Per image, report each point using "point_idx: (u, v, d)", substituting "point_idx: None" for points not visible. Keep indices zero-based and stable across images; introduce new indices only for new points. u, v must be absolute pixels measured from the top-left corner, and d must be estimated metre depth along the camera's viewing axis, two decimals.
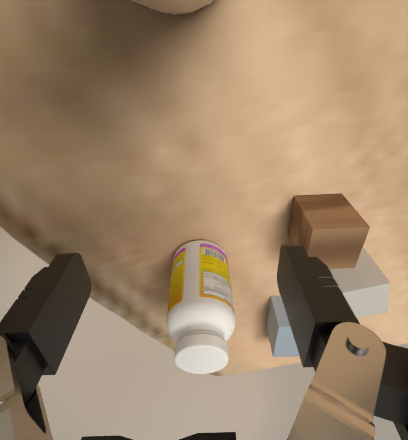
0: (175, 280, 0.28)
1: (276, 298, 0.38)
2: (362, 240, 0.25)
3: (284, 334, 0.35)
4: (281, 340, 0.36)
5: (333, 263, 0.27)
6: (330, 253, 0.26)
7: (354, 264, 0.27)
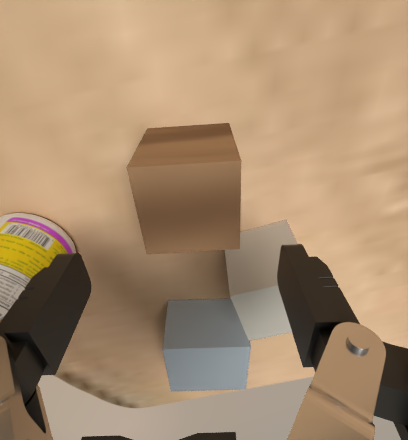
0: None
1: (175, 304, 0.26)
2: (235, 191, 0.13)
3: (175, 360, 0.23)
4: (174, 369, 0.24)
5: (197, 240, 0.14)
6: (182, 220, 0.14)
7: (236, 242, 0.15)
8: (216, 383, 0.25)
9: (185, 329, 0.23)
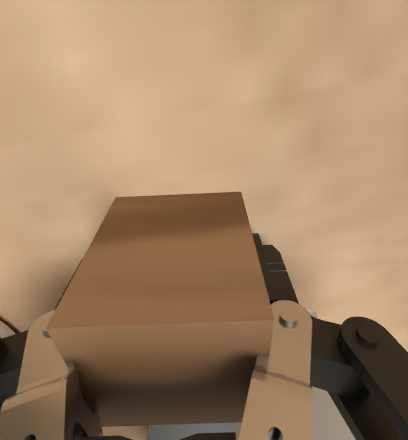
0: None
1: None
2: None
3: None
4: None
5: (187, 413, 0.08)
6: (161, 391, 0.08)
7: None
8: None
9: None
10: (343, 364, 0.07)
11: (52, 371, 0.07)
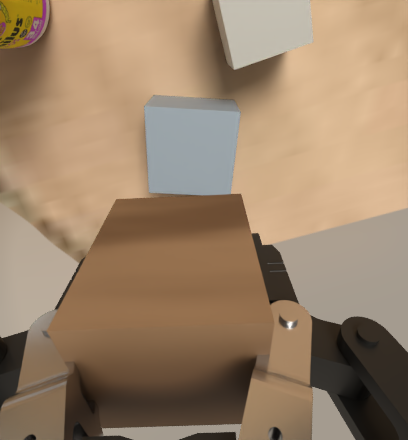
0: None
1: (161, 96, 0.24)
2: None
3: (157, 130, 0.21)
4: (155, 147, 0.22)
5: (187, 414, 0.08)
6: (161, 393, 0.08)
7: None
8: (199, 182, 0.23)
9: (170, 103, 0.21)
10: (343, 364, 0.07)
11: (52, 371, 0.07)
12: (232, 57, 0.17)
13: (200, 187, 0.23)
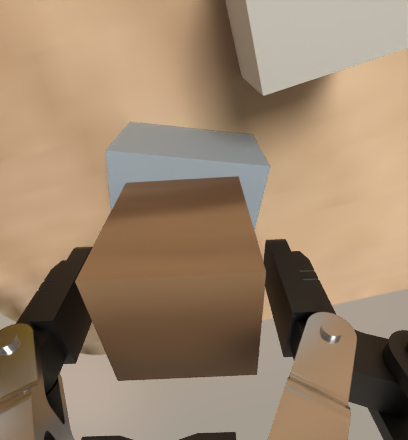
0: None
1: (140, 125, 0.15)
2: (254, 310, 0.08)
3: None
4: None
5: (193, 365, 0.10)
6: (170, 344, 0.09)
7: (253, 367, 0.10)
8: None
9: (154, 142, 0.13)
10: (392, 382, 0.07)
11: (14, 386, 0.06)
12: (260, 72, 0.09)
13: None
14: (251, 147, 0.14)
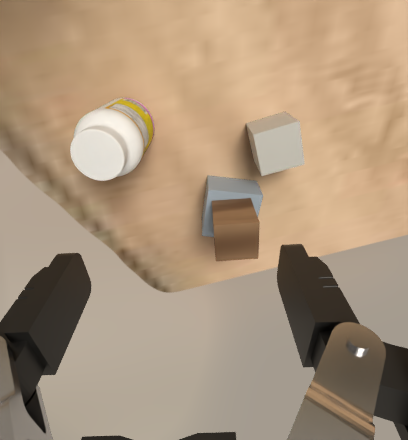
0: None
1: (212, 177, 0.38)
2: (256, 234, 0.31)
3: None
4: (210, 211, 0.36)
5: (239, 254, 0.32)
6: (233, 245, 0.32)
7: (256, 255, 0.32)
8: None
9: (221, 185, 0.36)
10: None
11: None
12: (261, 170, 0.32)
13: None
14: (256, 187, 0.37)
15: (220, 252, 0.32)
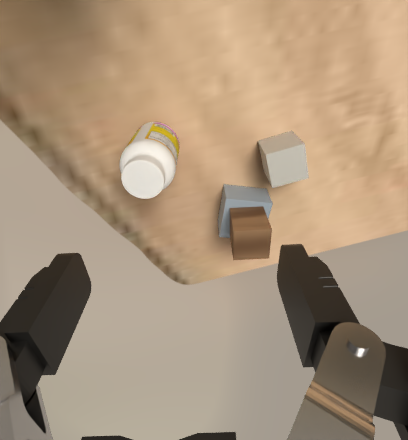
0: None
1: (228, 186, 0.44)
2: (269, 238, 0.37)
3: None
4: (227, 216, 0.42)
5: (253, 254, 0.39)
6: (249, 247, 0.38)
7: (268, 255, 0.39)
8: None
9: (236, 194, 0.42)
10: None
11: None
12: (271, 183, 0.38)
13: None
14: (266, 195, 0.43)
15: (237, 253, 0.38)
